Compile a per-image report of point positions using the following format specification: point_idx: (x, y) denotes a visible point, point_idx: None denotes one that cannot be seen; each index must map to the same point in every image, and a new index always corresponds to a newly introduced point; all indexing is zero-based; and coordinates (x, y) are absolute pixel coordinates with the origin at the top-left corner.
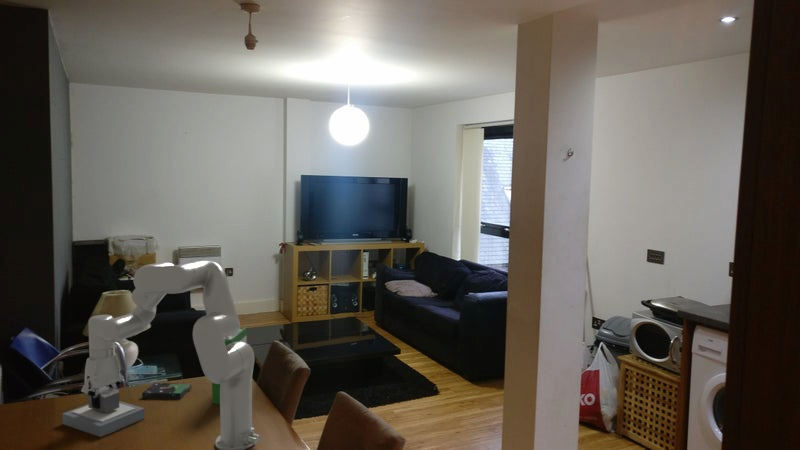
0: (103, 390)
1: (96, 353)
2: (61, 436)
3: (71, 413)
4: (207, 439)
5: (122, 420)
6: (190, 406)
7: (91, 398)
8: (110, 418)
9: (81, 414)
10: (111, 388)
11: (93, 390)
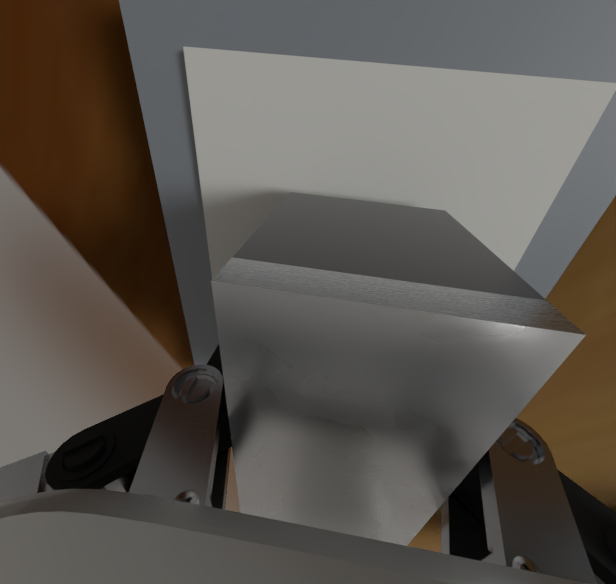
0: (331, 472)
1: None
2: (112, 206)
3: (177, 73)
4: None
5: None
6: (591, 468)
7: (209, 362)
8: None
9: (205, 219)
10: (427, 506)
11: (194, 459)
